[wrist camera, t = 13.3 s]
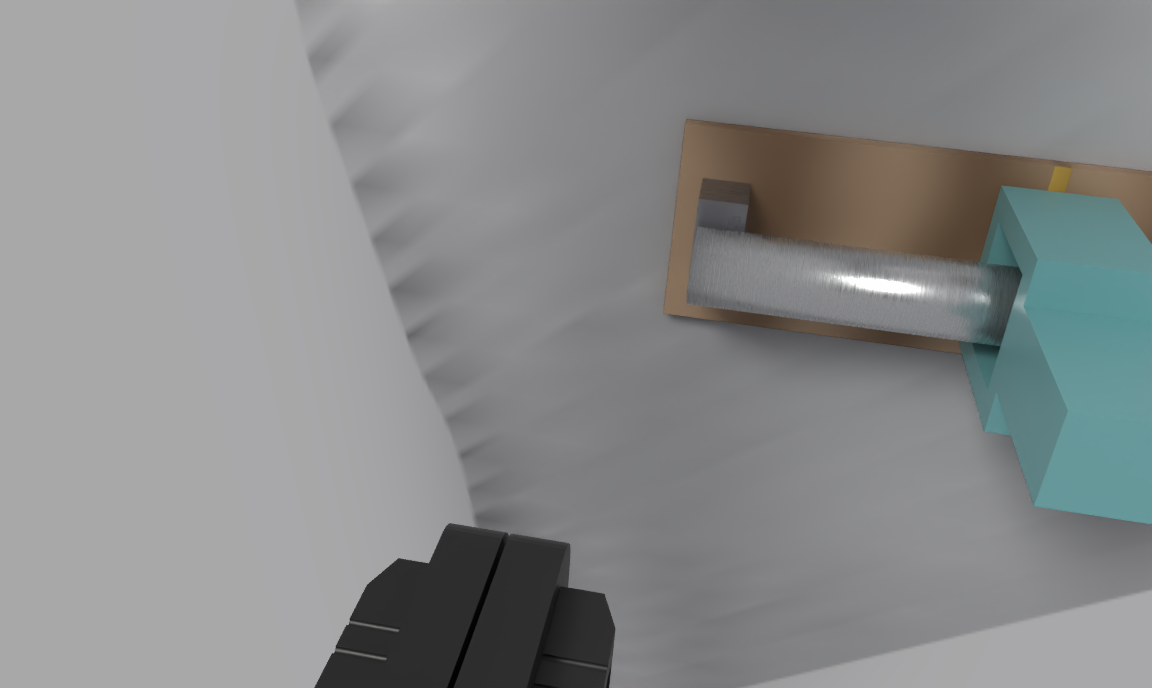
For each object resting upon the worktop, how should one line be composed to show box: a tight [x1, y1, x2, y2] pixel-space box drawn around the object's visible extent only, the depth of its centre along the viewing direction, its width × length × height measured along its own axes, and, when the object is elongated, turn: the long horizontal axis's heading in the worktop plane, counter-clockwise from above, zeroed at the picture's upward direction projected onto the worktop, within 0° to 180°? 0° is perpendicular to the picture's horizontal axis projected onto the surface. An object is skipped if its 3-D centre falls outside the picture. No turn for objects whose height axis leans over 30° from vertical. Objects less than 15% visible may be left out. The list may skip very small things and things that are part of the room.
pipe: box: [686, 178, 1022, 346], centre depth 36 cm, size 18×4×7 cm, turn 86°
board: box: [663, 119, 1152, 354], centre depth 40 cm, size 20×8×1 cm, turn 86°
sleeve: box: [958, 185, 1152, 524], centre depth 33 cm, size 4×6×12 cm, turn 176°
